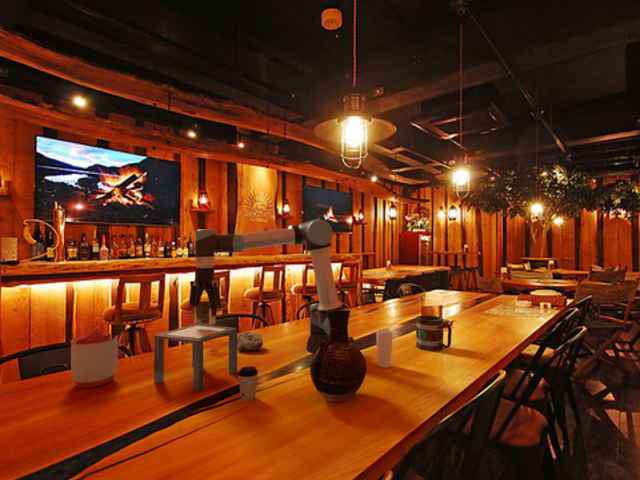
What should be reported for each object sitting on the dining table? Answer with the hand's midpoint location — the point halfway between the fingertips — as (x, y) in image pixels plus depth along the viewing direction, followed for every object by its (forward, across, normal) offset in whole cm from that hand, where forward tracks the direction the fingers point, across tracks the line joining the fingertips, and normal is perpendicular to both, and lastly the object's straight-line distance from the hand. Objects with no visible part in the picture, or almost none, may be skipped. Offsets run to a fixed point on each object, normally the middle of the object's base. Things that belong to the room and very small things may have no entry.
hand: (204, 323), depth 142 cm
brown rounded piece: (0, 0, 0) cm, 0 cm away
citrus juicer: (+21, -32, -23) cm, 45 cm away
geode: (+21, -5, +36) cm, 42 cm away
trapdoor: (+4, 0, -4) cm, 6 cm away
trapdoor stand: (+20, 0, -4) cm, 21 cm away
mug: (+21, +82, +73) cm, 112 cm away
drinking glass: (+21, +65, +38) cm, 78 cm away
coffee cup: (+21, +30, -12) cm, 38 cm away
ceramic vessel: (+21, +58, +1) cm, 62 cm away
